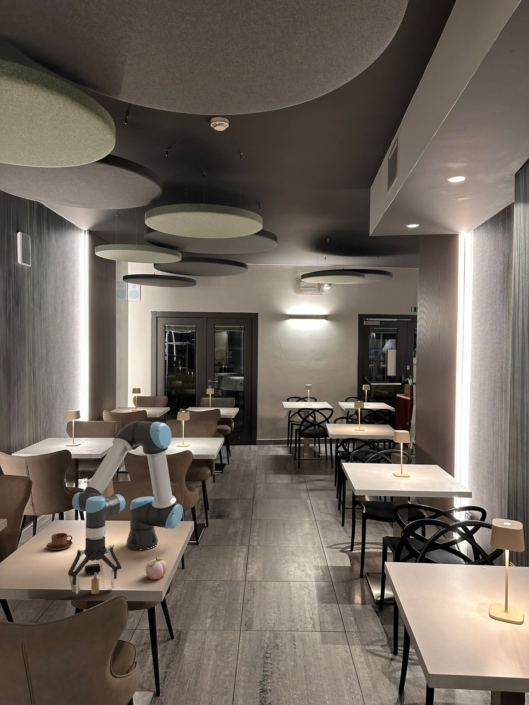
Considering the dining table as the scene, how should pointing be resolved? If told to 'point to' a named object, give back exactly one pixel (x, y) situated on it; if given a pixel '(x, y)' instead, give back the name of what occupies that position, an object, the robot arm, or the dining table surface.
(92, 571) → the tape measure
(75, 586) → the joist strip
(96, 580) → the beige bottle
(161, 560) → the decorative fruit
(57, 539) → the cup and saucer
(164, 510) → the robot arm
